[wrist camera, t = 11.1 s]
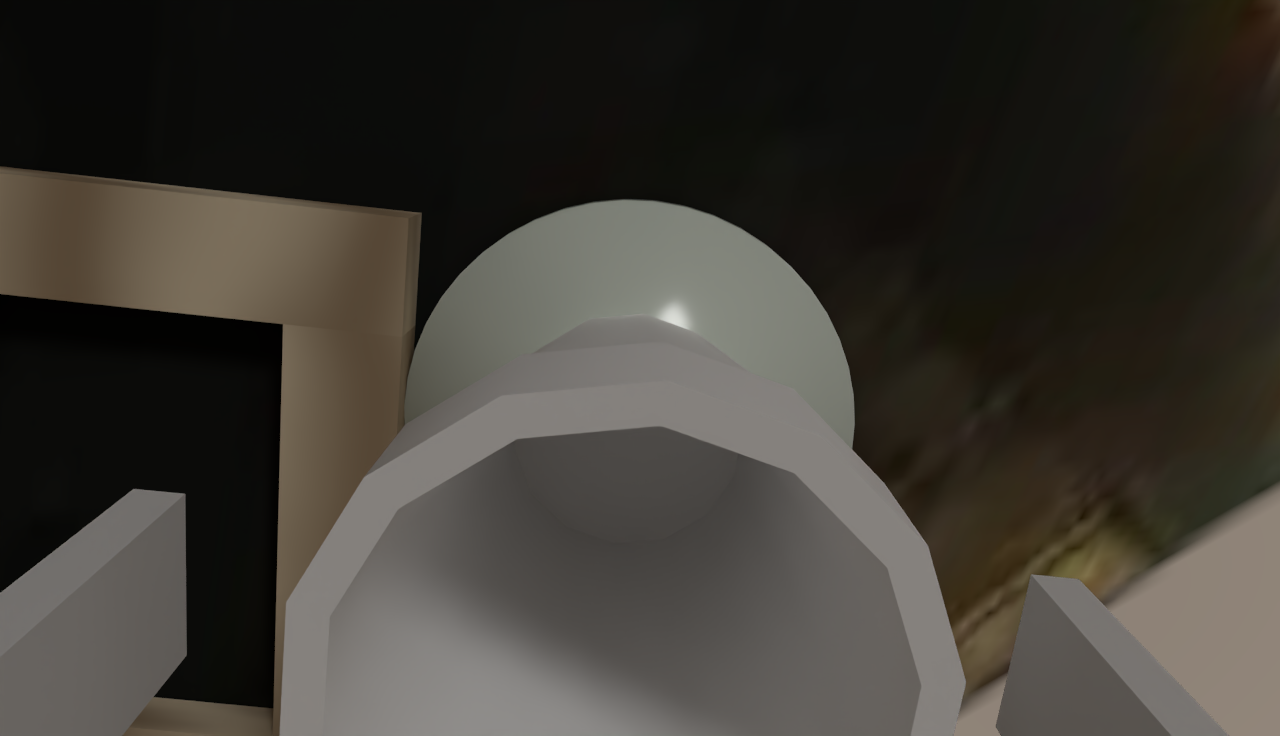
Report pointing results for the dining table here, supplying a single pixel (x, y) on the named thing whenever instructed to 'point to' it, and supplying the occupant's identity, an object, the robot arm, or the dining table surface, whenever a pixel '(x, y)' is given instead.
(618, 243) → the pale grey-green round part
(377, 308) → the birch pocket board
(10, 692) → the robot arm
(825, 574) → the foam cup
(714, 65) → the dining table surface
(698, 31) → the dining table surface
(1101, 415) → the dining table surface
